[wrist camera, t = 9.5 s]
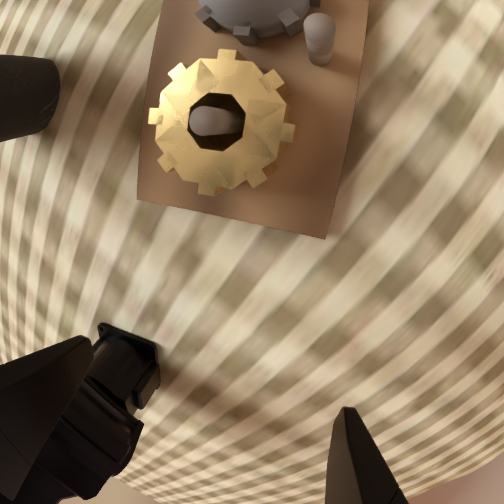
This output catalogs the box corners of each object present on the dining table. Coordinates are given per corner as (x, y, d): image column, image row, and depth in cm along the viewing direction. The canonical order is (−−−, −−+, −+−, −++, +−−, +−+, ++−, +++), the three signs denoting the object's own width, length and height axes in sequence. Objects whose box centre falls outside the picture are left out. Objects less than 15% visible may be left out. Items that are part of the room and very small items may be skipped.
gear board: (148, 194, 20) (87, 223, 14) (184, -33, 13) (136, -73, 7) (325, 231, 18) (326, 281, 12) (368, -21, 11) (384, -76, 5)
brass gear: (173, 172, 17) (142, 183, 14) (188, 61, 14) (159, 49, 11) (287, 194, 16) (278, 210, 13) (309, 73, 13) (306, 58, 10)
